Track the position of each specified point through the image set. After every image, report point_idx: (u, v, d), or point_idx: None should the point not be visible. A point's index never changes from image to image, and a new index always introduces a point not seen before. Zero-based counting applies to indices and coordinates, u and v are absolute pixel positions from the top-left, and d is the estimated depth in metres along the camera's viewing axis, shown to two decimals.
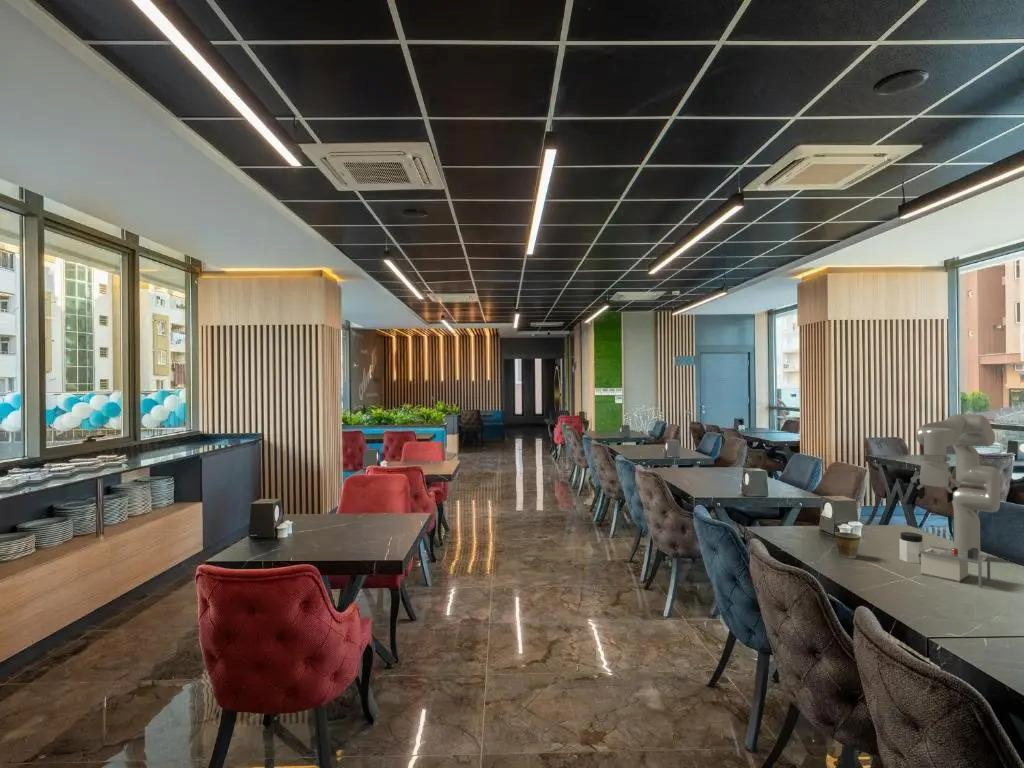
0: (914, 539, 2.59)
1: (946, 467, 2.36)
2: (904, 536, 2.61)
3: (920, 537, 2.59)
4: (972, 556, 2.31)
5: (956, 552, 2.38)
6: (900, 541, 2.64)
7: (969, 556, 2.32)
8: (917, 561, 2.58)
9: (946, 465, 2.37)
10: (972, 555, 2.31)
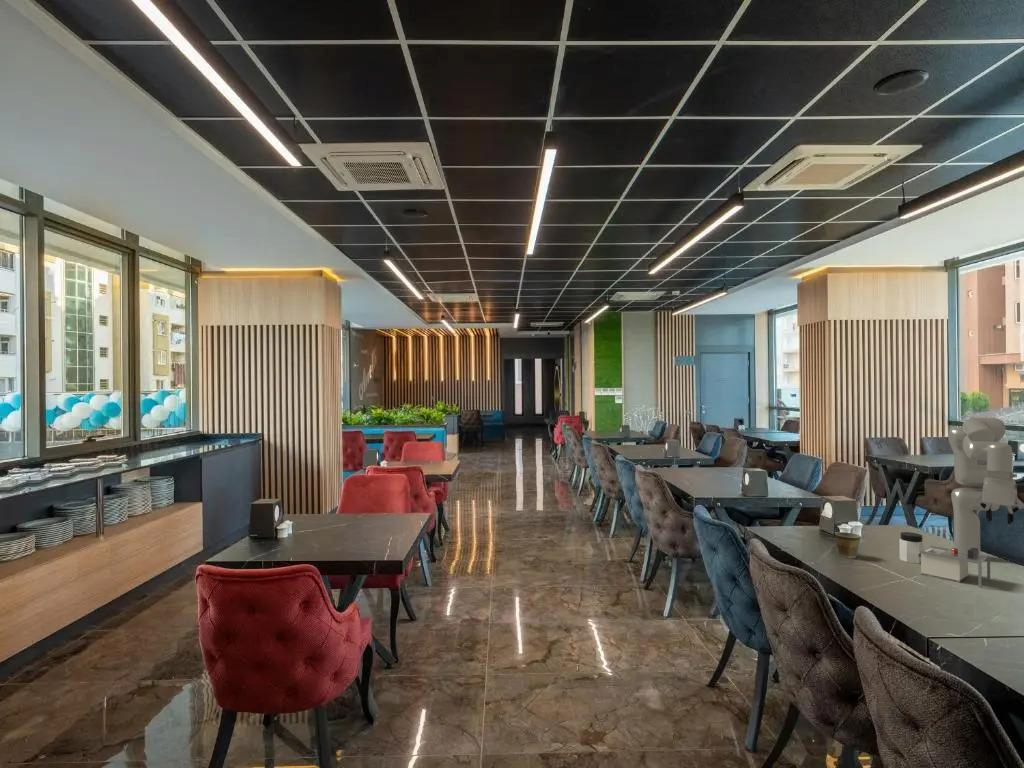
0: (914, 539, 2.59)
1: (1012, 484, 2.23)
2: (904, 536, 2.61)
3: (920, 537, 2.59)
4: (972, 556, 2.31)
5: (956, 552, 2.38)
6: (900, 541, 2.64)
7: (969, 556, 2.32)
8: (917, 561, 2.58)
9: (1012, 482, 2.24)
10: (972, 555, 2.31)
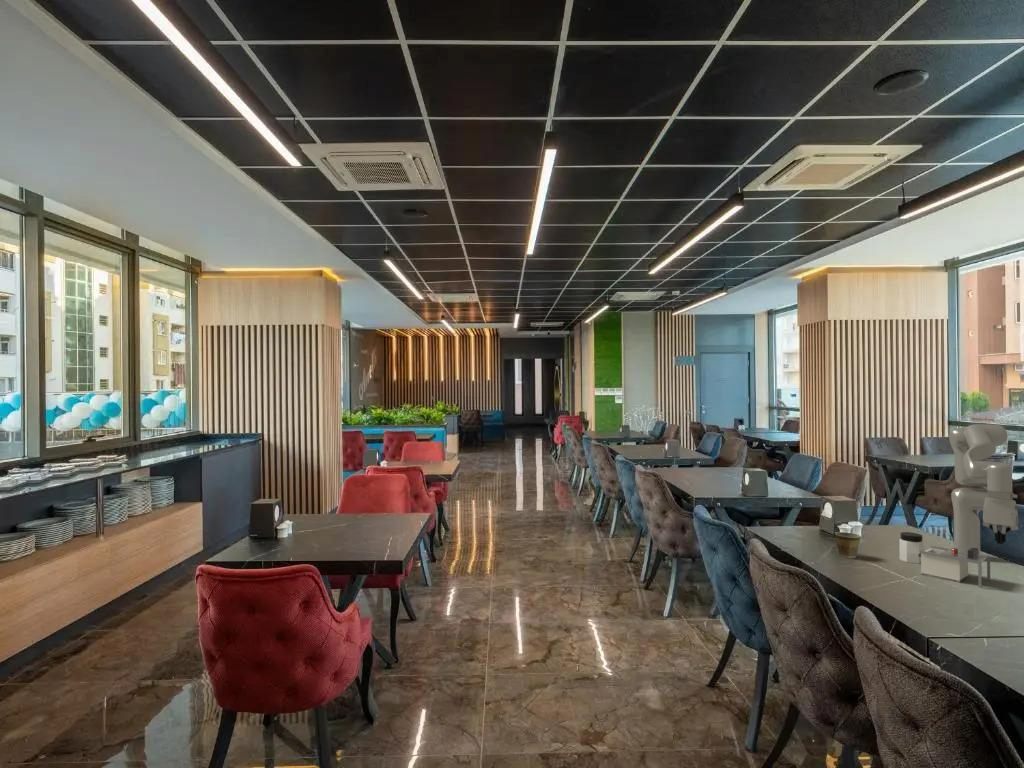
0: (914, 539, 2.59)
1: (1013, 505, 2.23)
2: (904, 536, 2.61)
3: (920, 537, 2.59)
4: (972, 556, 2.31)
5: (956, 552, 2.38)
6: (900, 541, 2.64)
7: (969, 556, 2.32)
8: (917, 561, 2.58)
9: (1013, 503, 2.23)
10: (972, 555, 2.31)
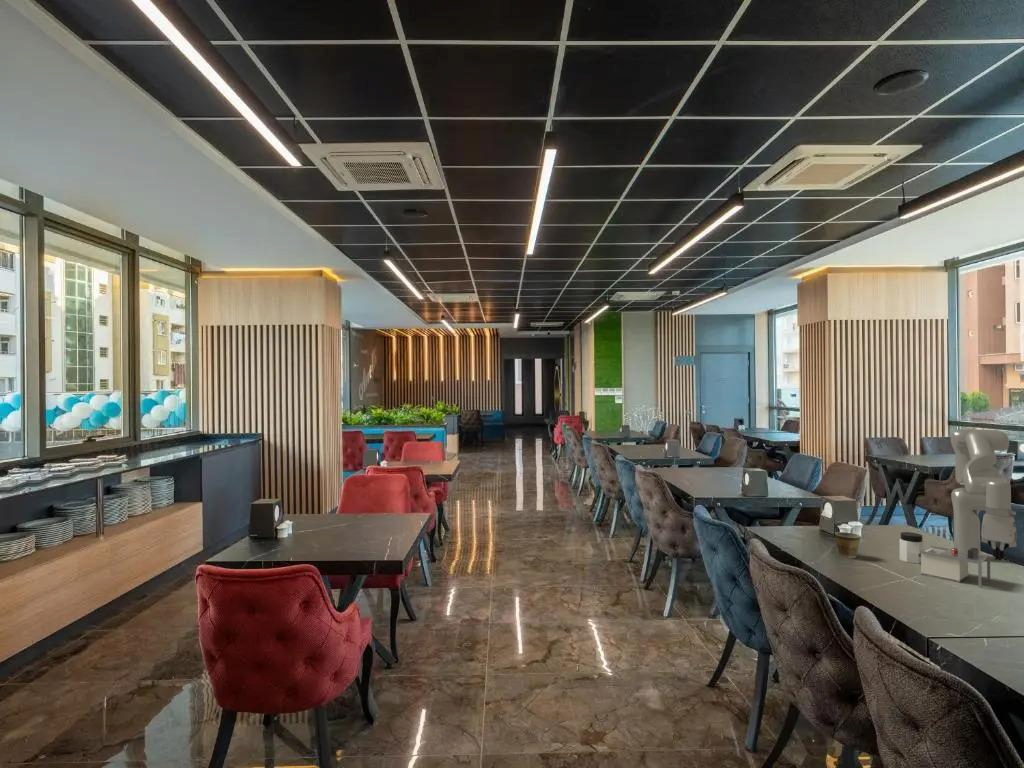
0: (914, 539, 2.59)
1: (1011, 522, 2.24)
2: (904, 536, 2.61)
3: (920, 537, 2.59)
4: (972, 556, 2.31)
5: (956, 552, 2.38)
6: (900, 541, 2.64)
7: (969, 556, 2.32)
8: (917, 561, 2.58)
9: (1011, 520, 2.24)
10: (972, 555, 2.31)
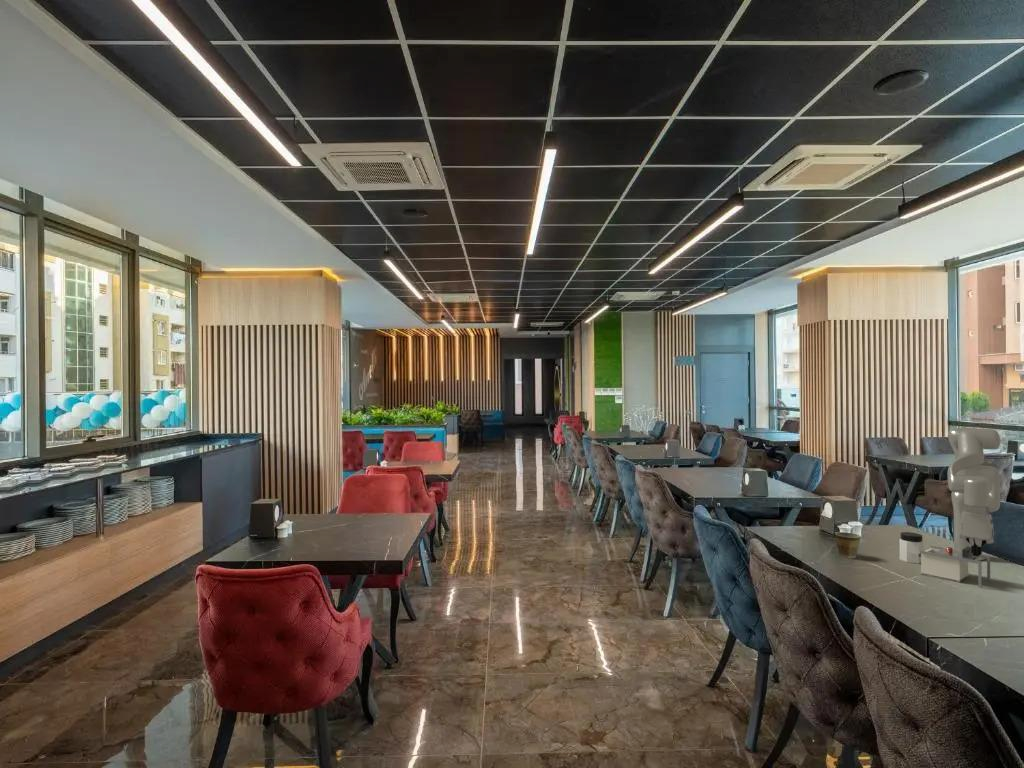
0: (914, 539, 2.59)
1: (988, 519, 2.29)
2: (904, 536, 2.61)
3: (920, 537, 2.59)
4: (967, 555, 2.33)
5: (951, 551, 2.39)
6: (900, 541, 2.64)
7: (964, 555, 2.33)
8: (917, 561, 2.58)
9: (988, 517, 2.29)
10: (967, 554, 2.33)
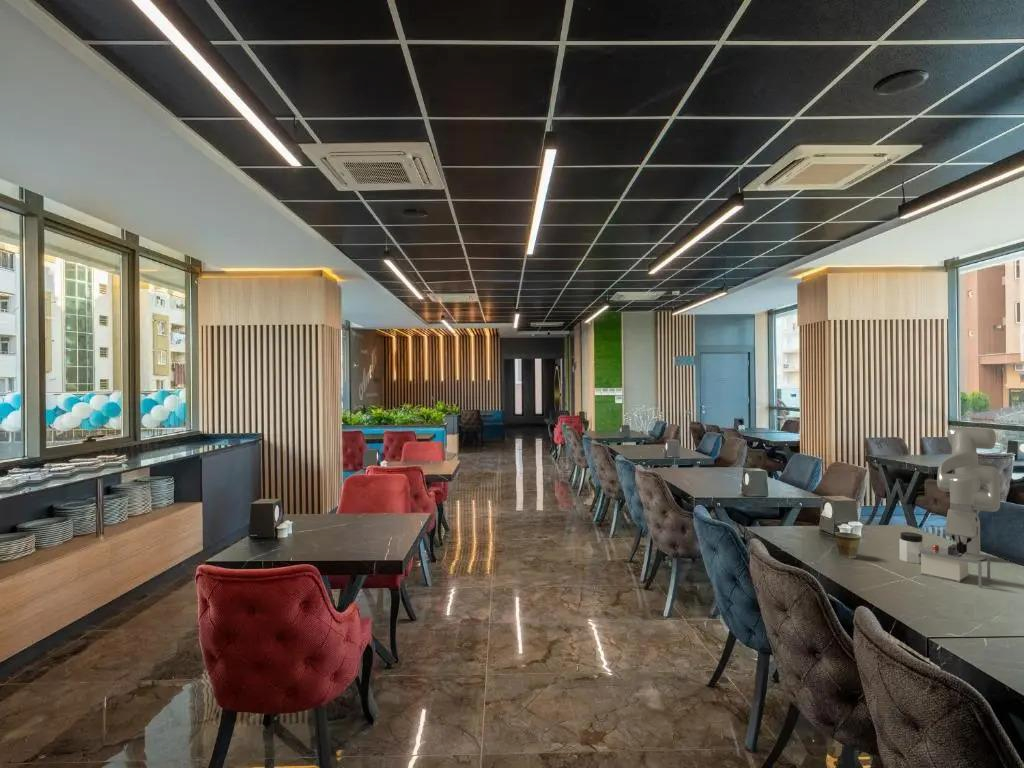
0: (914, 539, 2.59)
1: (973, 517, 2.33)
2: (904, 536, 2.61)
3: (920, 537, 2.59)
4: (952, 552, 2.36)
5: (937, 549, 2.43)
6: (900, 541, 2.64)
7: (949, 552, 2.37)
8: (917, 561, 2.58)
9: (973, 515, 2.33)
10: (952, 551, 2.36)
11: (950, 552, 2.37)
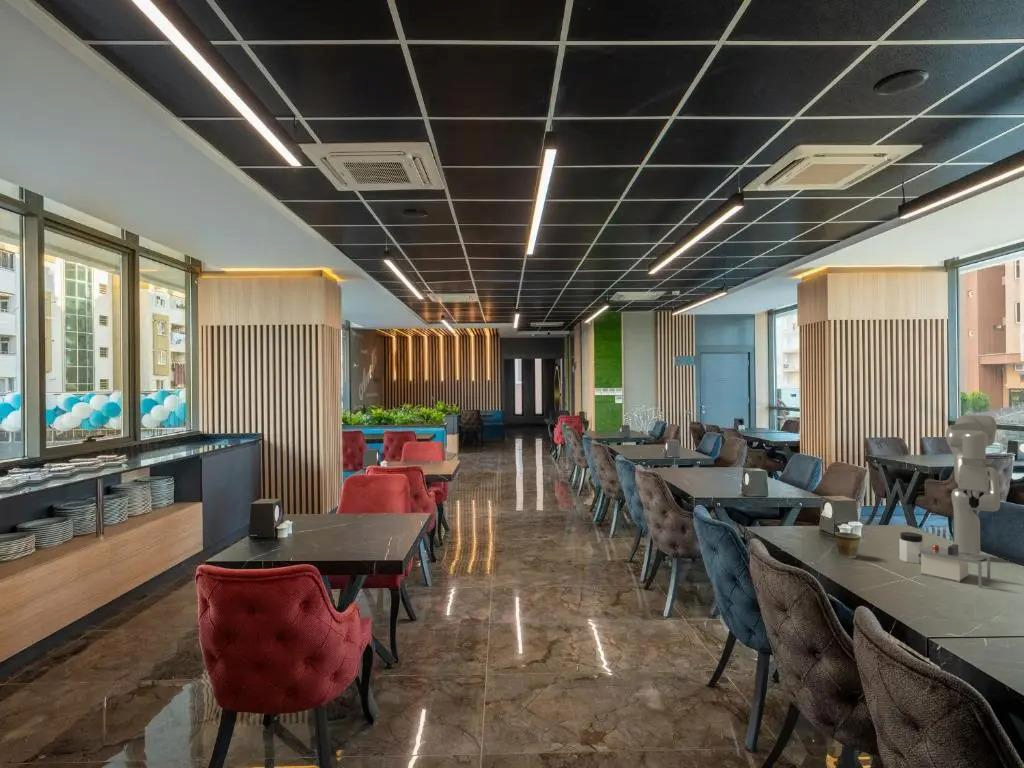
0: (914, 539, 2.59)
1: (986, 471, 2.35)
2: (904, 536, 2.61)
3: (920, 537, 2.59)
4: (952, 552, 2.36)
5: (937, 549, 2.43)
6: (900, 541, 2.64)
7: (949, 552, 2.37)
8: (917, 561, 2.58)
9: (986, 469, 2.35)
10: (952, 551, 2.36)
11: (950, 552, 2.37)
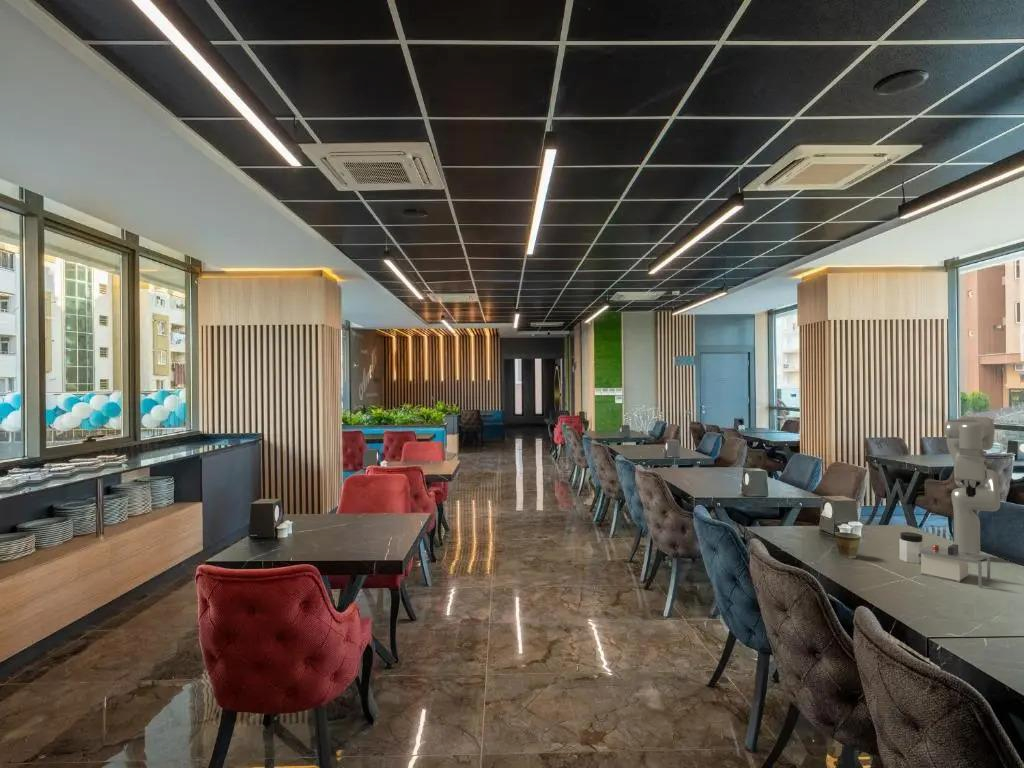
0: (914, 539, 2.59)
1: (982, 461, 2.41)
2: (904, 536, 2.61)
3: (920, 537, 2.59)
4: (952, 552, 2.36)
5: (937, 549, 2.43)
6: (900, 541, 2.64)
7: (949, 552, 2.37)
8: (917, 561, 2.58)
9: (982, 459, 2.41)
10: (952, 551, 2.36)
11: (950, 552, 2.37)
